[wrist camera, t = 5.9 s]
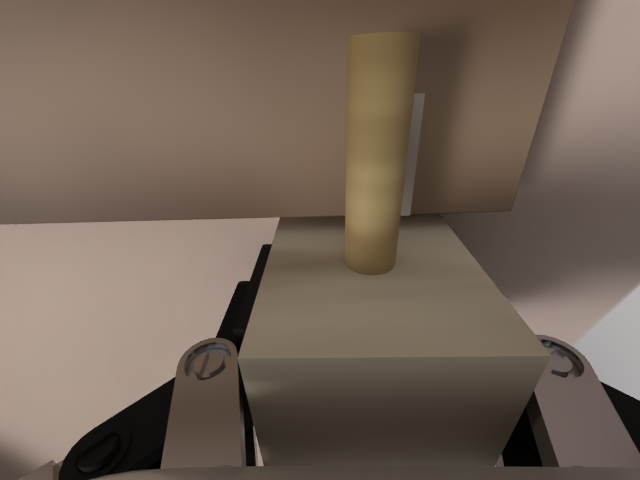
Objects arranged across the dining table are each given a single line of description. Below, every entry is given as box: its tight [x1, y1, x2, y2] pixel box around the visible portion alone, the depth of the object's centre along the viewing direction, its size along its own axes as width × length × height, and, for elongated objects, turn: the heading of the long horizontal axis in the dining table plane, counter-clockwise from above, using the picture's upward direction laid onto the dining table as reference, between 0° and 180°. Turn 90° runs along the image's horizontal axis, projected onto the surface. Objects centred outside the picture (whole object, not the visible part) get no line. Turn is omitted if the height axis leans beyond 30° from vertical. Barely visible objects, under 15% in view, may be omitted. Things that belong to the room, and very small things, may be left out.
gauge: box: [237, 32, 551, 467], centre depth 8 cm, size 10×5×6 cm, turn 2°
